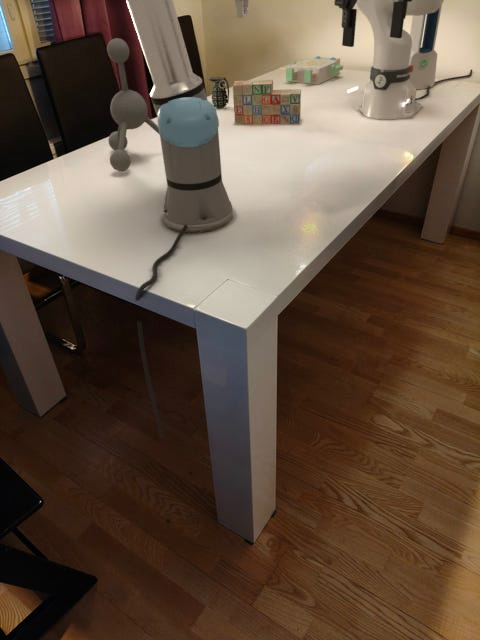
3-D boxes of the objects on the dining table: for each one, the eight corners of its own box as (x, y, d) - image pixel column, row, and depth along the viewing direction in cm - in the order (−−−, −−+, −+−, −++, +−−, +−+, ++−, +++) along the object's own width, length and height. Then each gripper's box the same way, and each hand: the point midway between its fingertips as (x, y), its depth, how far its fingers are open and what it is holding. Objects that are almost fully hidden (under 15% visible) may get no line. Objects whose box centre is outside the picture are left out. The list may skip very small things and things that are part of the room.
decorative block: (308, 54, 216) (349, 57, 207) (307, 70, 220) (348, 74, 211) (277, 65, 200) (320, 69, 191) (277, 82, 204) (319, 87, 195)
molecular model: (194, 162, 134) (180, 38, 116) (114, 177, 128) (87, 49, 110) (171, 138, 152) (156, 27, 133) (100, 151, 146) (75, 36, 127)
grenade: (209, 109, 176) (207, 79, 170) (214, 105, 180) (212, 76, 174) (227, 110, 174) (225, 79, 168) (231, 105, 179) (229, 76, 173)
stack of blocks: (300, 119, 162) (301, 78, 155) (299, 124, 157) (300, 83, 150) (237, 119, 165) (235, 79, 158) (234, 124, 161) (232, 84, 153)
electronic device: (404, 91, 183) (418, -5, 165) (394, 86, 189) (407, -6, 171) (434, 87, 186) (451, -7, 167) (423, 83, 191) (438, -9, 173)
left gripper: (417, -89, 98) (401, 32, 111) (320, -86, 88) (314, 47, 101) (448, -92, 92) (427, 36, 106) (348, -89, 83) (338, 52, 96)
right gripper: (235, -44, 144) (237, 11, 152) (222, -41, 128) (226, 20, 136) (256, -45, 143) (257, 10, 151) (246, -43, 127) (248, 19, 136)
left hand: (372, 41), depth 103 cm, fingers open, 13 cm apart
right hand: (242, 15), depth 144 cm, fingers open, 8 cm apart
